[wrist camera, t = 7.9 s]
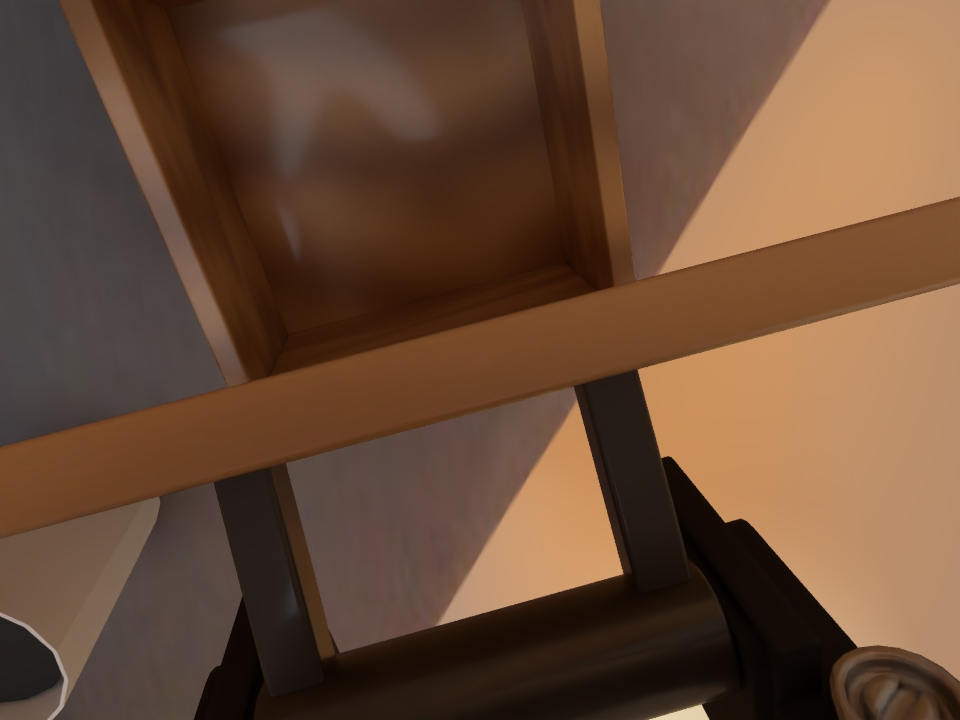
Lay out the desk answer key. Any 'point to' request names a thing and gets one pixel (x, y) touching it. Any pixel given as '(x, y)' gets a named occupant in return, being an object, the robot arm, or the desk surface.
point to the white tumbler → (61, 602)
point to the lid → (461, 391)
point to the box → (364, 162)
